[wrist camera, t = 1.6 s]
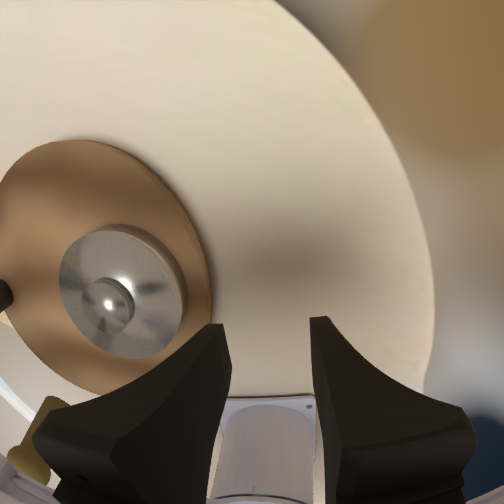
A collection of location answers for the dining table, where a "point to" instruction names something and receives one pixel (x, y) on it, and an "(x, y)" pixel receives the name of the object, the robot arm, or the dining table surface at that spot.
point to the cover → (123, 290)
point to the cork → (26, 453)
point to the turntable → (71, 229)
